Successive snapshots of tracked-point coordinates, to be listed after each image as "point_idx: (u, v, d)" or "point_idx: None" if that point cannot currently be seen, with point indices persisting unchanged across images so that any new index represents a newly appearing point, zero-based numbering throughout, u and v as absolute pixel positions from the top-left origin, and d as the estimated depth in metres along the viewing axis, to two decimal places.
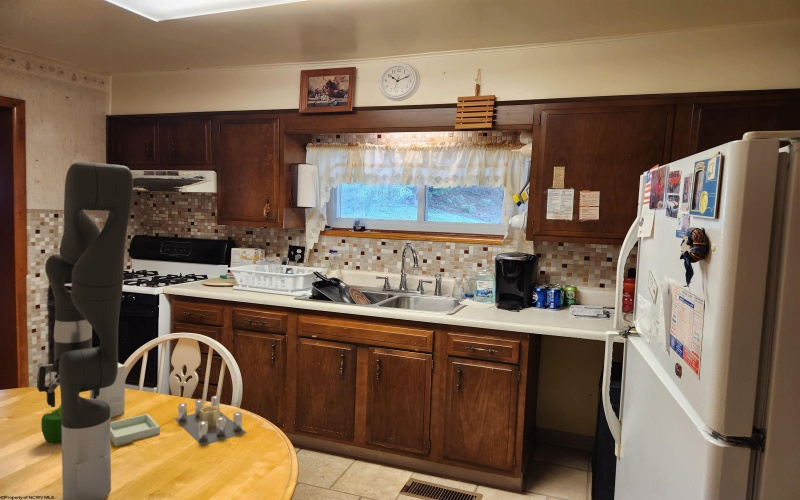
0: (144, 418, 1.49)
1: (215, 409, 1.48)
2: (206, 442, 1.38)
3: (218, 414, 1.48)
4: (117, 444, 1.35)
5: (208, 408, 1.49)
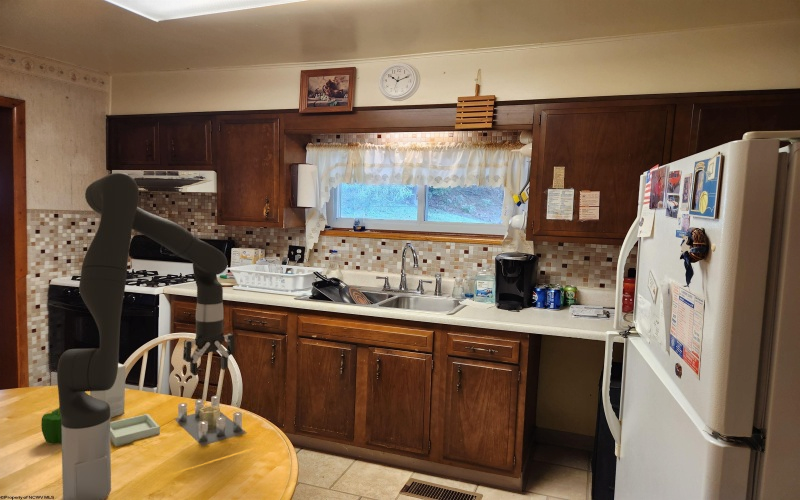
0: (144, 418, 1.49)
1: (215, 409, 1.48)
2: (206, 442, 1.38)
3: (218, 414, 1.48)
4: (117, 444, 1.35)
5: (208, 408, 1.49)
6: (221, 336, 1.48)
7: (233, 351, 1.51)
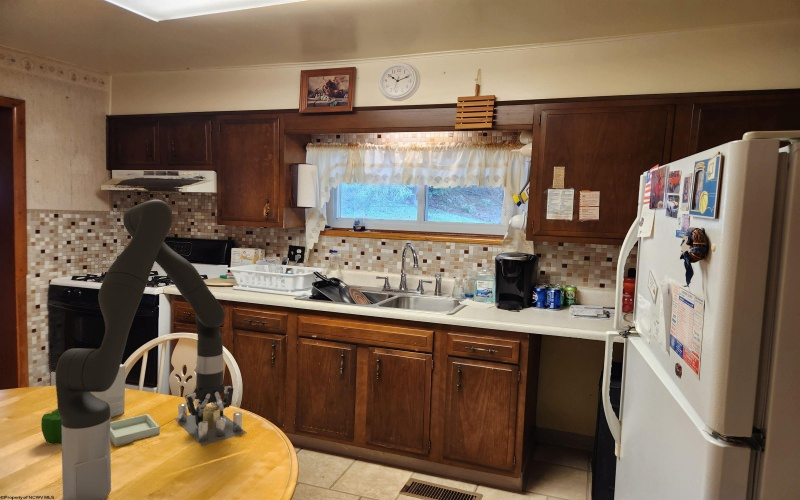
0: (144, 418, 1.49)
1: (215, 409, 1.48)
2: (206, 442, 1.38)
3: (218, 414, 1.48)
4: (117, 444, 1.35)
5: (208, 408, 1.49)
6: (222, 386, 1.49)
7: (228, 404, 1.51)
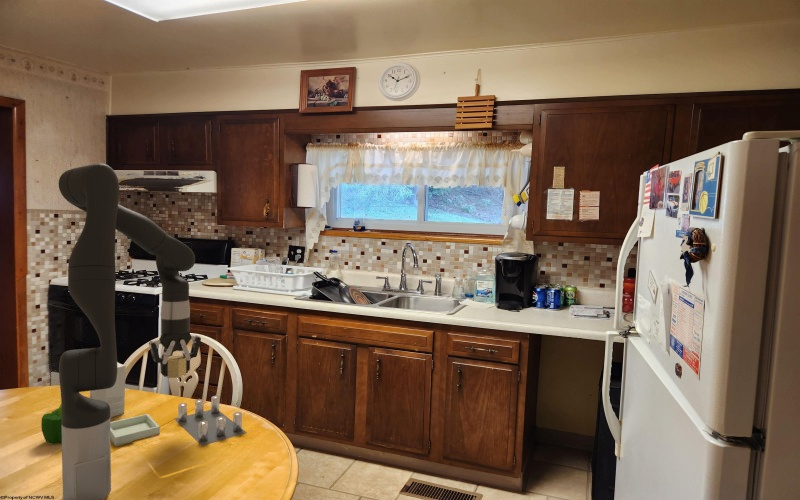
0: (144, 418, 1.49)
1: (181, 358, 1.44)
2: (206, 442, 1.38)
3: (184, 363, 1.44)
4: (117, 444, 1.35)
5: (174, 357, 1.44)
6: (188, 335, 1.45)
7: (196, 354, 1.46)
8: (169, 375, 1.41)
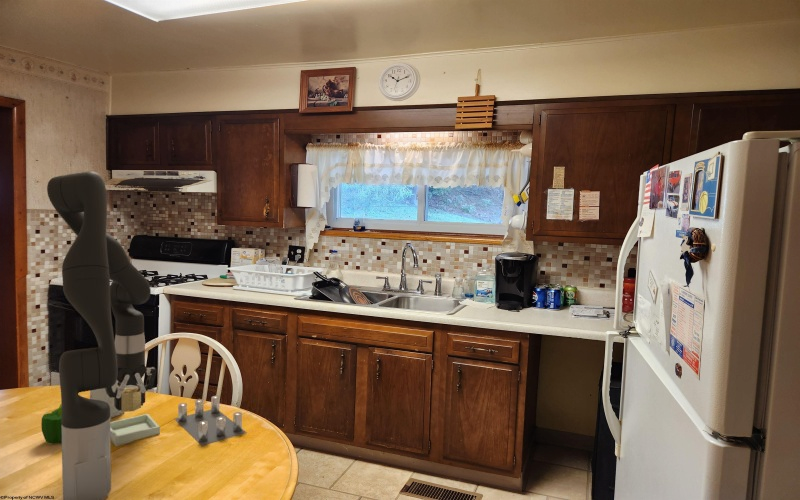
0: (144, 418, 1.49)
1: (136, 391, 1.42)
2: (206, 442, 1.38)
3: (139, 396, 1.42)
4: (117, 444, 1.35)
5: (128, 390, 1.42)
6: (143, 367, 1.43)
7: (151, 386, 1.45)
8: (123, 409, 1.40)
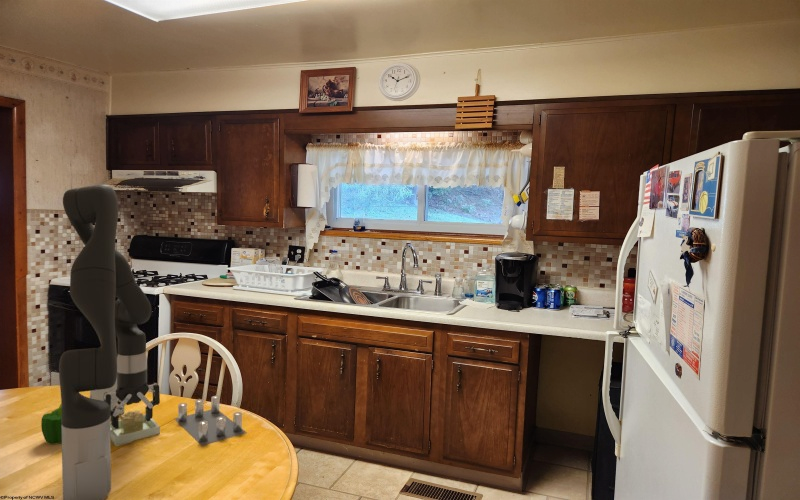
0: (144, 418, 1.49)
1: (137, 415, 1.42)
2: (206, 442, 1.38)
3: (141, 420, 1.42)
4: (117, 444, 1.35)
5: (130, 414, 1.43)
6: (145, 386, 1.43)
7: (158, 401, 1.46)
8: (125, 433, 1.40)
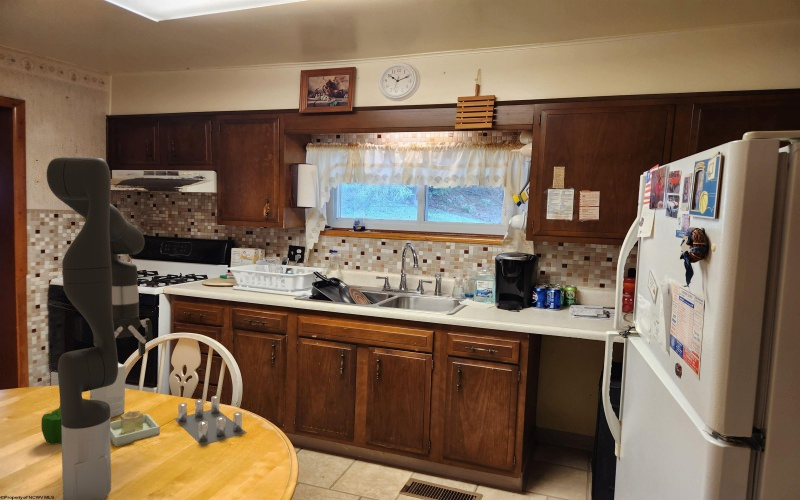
0: (144, 418, 1.49)
1: (137, 415, 1.42)
2: (206, 442, 1.38)
3: (141, 420, 1.42)
4: (117, 444, 1.35)
5: (130, 414, 1.43)
6: (136, 320, 1.40)
7: (151, 337, 1.43)
8: (125, 433, 1.40)
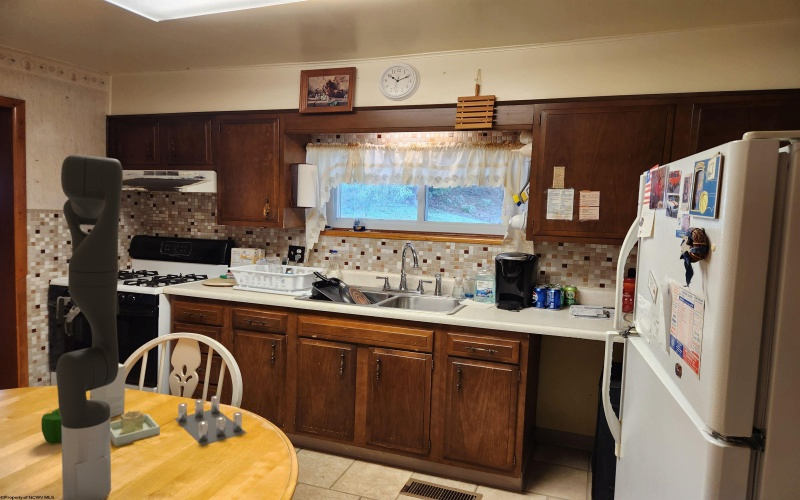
0: (144, 418, 1.49)
1: (137, 415, 1.42)
2: (206, 442, 1.38)
3: (141, 420, 1.42)
4: (117, 444, 1.35)
5: (130, 414, 1.43)
6: None
7: (118, 311, 1.38)
8: (125, 433, 1.40)
